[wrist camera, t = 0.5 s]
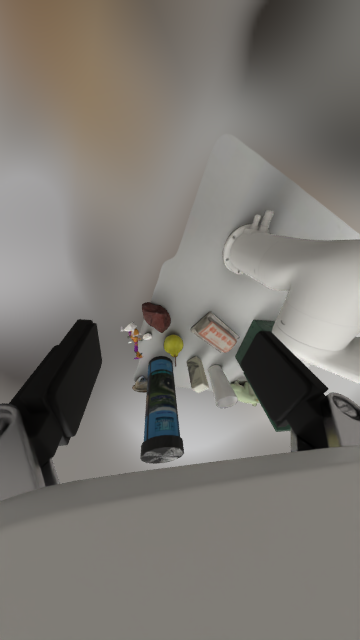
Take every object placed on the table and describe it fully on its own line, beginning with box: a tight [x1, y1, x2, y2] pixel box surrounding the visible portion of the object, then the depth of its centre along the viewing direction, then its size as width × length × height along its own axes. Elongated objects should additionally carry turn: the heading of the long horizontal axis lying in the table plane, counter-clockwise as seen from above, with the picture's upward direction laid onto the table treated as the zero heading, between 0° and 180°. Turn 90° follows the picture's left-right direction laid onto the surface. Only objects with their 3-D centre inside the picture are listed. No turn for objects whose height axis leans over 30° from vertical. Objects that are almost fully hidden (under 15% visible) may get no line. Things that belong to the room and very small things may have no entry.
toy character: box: [121, 322, 152, 359], centre depth 51 cm, size 10×9×12 cm
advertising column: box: [141, 356, 184, 463], centre depth 52 cm, size 11×11×30 cm
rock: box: [142, 302, 171, 333], centre depth 49 cm, size 11×6×8 cm
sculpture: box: [132, 376, 147, 392], centre depth 67 cm, size 8×8×6 cm
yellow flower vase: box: [164, 335, 183, 367], centre depth 53 cm, size 7×7×12 cm
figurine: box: [230, 380, 260, 406], centre depth 77 cm, size 10×16×10 cm, turn 83°
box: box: [187, 356, 209, 393], centre depth 61 cm, size 5×4×13 cm
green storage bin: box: [235, 320, 275, 370], centre depth 61 cm, size 20×16×8 cm
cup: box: [208, 365, 238, 408], centre depth 64 cm, size 8×8×16 cm
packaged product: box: [191, 312, 240, 353], centre depth 57 cm, size 18×5×10 cm
